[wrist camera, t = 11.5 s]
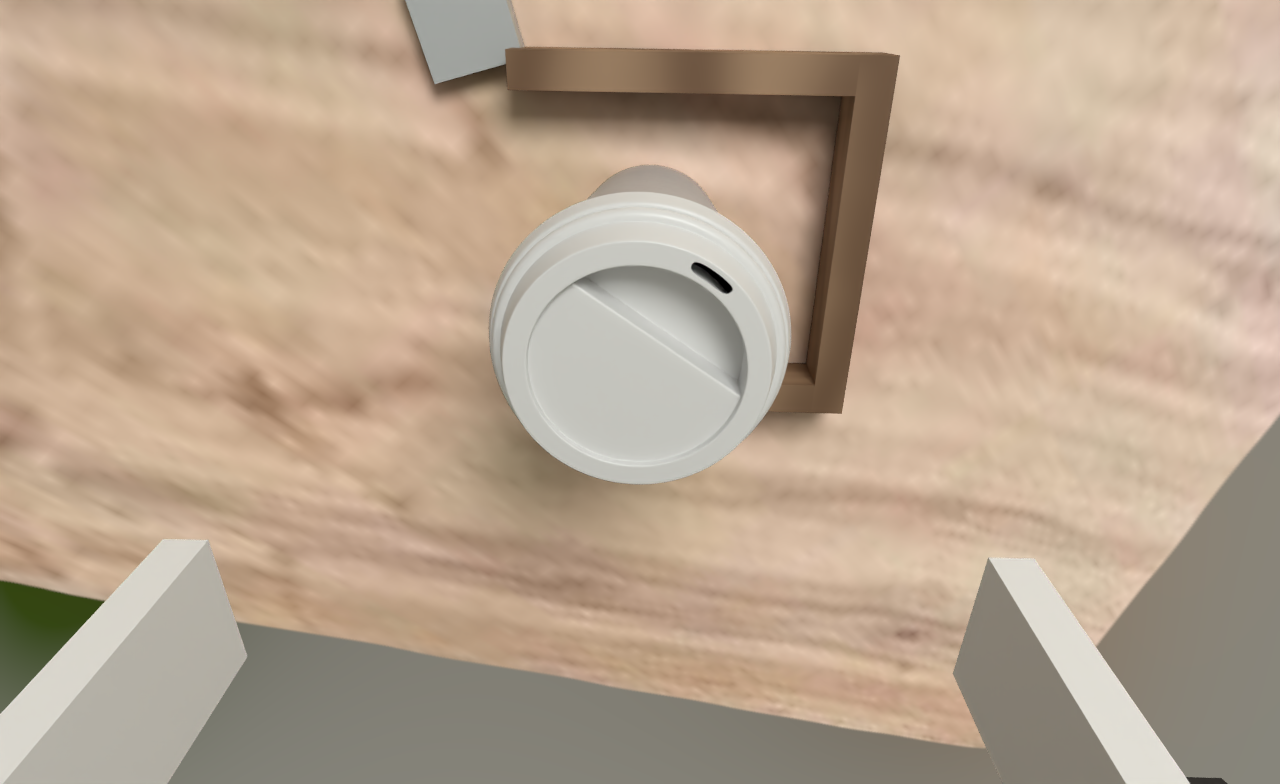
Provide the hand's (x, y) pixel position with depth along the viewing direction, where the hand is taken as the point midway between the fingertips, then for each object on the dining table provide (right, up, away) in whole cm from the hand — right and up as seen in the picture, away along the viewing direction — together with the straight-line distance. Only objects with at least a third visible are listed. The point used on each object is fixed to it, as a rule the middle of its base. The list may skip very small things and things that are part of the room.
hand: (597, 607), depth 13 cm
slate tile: (-6, +19, +18) cm, 27 cm away
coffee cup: (+1, +11, +22) cm, 25 cm away
